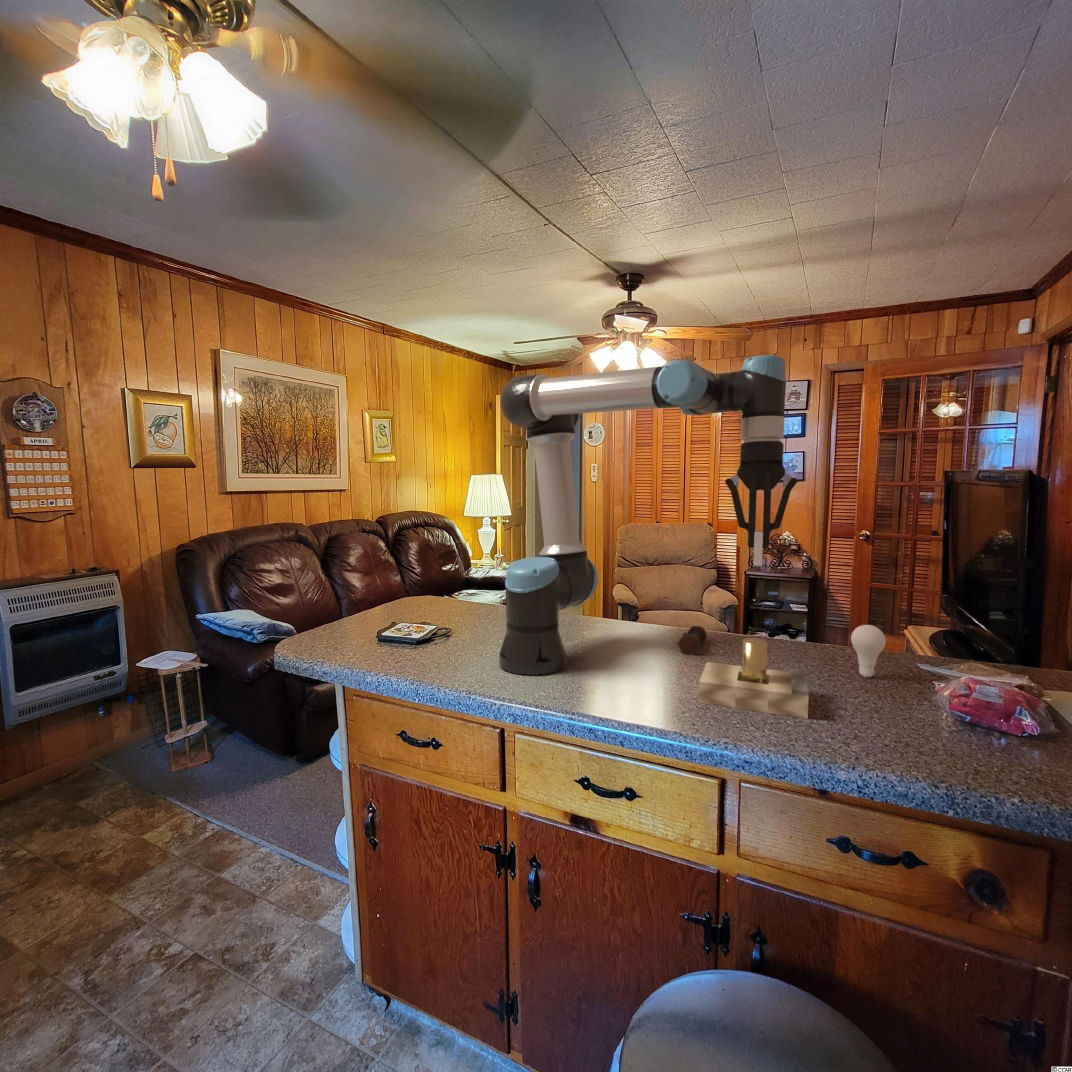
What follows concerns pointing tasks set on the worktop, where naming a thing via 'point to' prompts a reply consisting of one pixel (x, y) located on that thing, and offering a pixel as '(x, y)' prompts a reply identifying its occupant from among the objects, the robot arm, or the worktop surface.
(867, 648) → the lightbulb
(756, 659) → the brass cylinder
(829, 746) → the worktop surface
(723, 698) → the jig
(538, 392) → the robot arm
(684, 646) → the bolt
